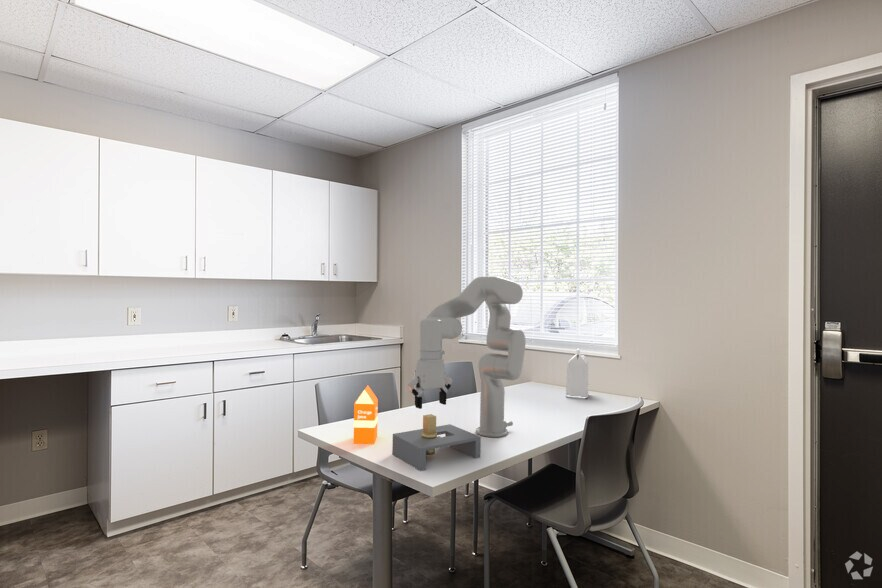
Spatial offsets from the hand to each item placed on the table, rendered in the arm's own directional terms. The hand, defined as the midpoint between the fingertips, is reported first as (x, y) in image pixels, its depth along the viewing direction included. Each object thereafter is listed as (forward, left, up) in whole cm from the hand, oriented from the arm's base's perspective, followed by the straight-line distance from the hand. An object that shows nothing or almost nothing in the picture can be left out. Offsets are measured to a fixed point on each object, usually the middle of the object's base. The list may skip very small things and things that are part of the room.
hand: (430, 405), depth 163 cm
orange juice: (+11, -28, -18) cm, 35 cm away
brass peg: (0, 0, -16) cm, 16 cm away
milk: (-123, -41, -18) cm, 131 cm away
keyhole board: (-2, 0, -17) cm, 17 cm away
